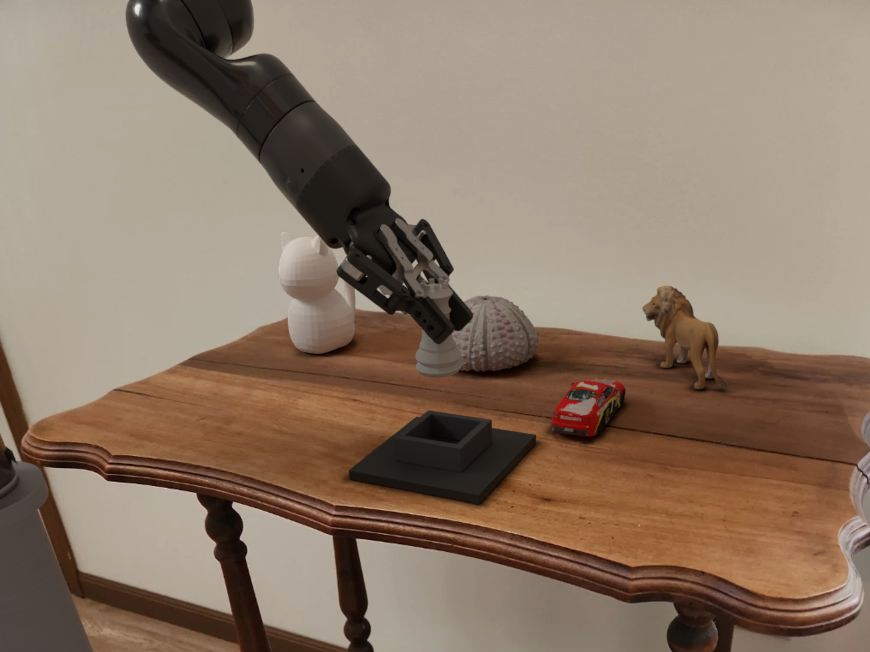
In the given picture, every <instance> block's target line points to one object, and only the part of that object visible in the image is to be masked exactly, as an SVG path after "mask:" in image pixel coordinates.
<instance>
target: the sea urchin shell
mask: <svg viewBox="0 0 870 652" xmlns="http://www.w3.org/2000/svg"><path fill="white" fill-rule="evenodd" d="M463 302H464V303H465V304H466V305H467V307H468V308H469V309H470V310H471V311H472V313H473V318H472V320H471V321H470V322H469V323H468V324H467V325H466V326H465V327H464V328H463V329H461V330H460V331H455V330H454V331H453V333H452V336H453V339H454V341H455V342H456V346H457V347H458V348H459V350H460V352H461V357H460V359H459V360H460V361H461V362H462V364H463V365H462V367H461V368H460V370H459V371H460V372H463V371H465V372H469V371H475V372H483V373H484V372H486V371H492V372H496V371H501V370H503V369H504V370H507V369H511V368H513V367H519V366H520V365H522V364H524V363H527V362H528V361H529V360H531V359H532V358H533V357H534V354H536V353H537V349H538V347H539V340H540V339H539V337H538V334H539V331H537V329H536V327H535V326H534V324H533V323H532V321H531V320H530V319H529V318H528V316H527V315H526V314H525V312H524V310H522V309H520V307H519V305H516V304H515V303H514V302H513V301H511V300H509V299H507V298H504V297H502V296H491V295H477V296H473V297H471V298H467V299H466V300H465V301H463Z"/></svg>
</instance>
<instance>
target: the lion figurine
mask: <svg viewBox="0 0 870 652" xmlns="http://www.w3.org/2000/svg"><path fill="white" fill-rule="evenodd" d="M641 309H642V311H643V313H644V315H645V319H646V321H647V322H651V321H653V323H654V327H655V328H657V329H658V330H659V332H660V333H659V334H660V336H661V338H662V339H664V351H665V360H663V361H661V362H660V368H662V369H668V368H672V367H673V366H674V365H673V364H674V347H675V345H676V344H678V345H679V346H680V352H679V355H678V357H677V358H676V363H678V364H686V363H687V362H688V354H690V360H691V364H692V367H693V368H694V371H695V373H696V375H697V379H698V380H697V381H696V382H695V383H694V384H693V389H695V390H702V389H703V390H704V388H705V387H706V379H710V380H712V379H714V381H715V383H716V384H717V386H718V387H719V388H722V389H727V388H728V383H726V382H725V381H724V380H723V379H722V378H721V377H720V376H719V375H718V373H717V369H716V368H717V367H716V356H717V351H718V348H719V343H720V340H719V339H720V338H719V333H718V330H717V328H716V326H715V324H714V323H712V322H709V321H703V320H701V319H699V318H697V317H696V316H695V314H694V309H693V306H692V303H691V302H690V300H689V299H687V297H686V295H684V294H683V293H682V292H681V291H680V290H678V289H677V288H676V287H675V288H674V287H673V286H672V285H662V286H659V287H657V288H656V294H655V295H654V296H653V297H651V299H650V301H649V302H647V303H646V304H645V305H643V306H642V308H641ZM704 351H705V352H706V357H707V361H708V367H707V371H705V367H704V366H703V355H704ZM689 352H690V353H689Z"/></svg>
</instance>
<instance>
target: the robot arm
mask: <svg viewBox="0 0 870 652" xmlns="http://www.w3.org/2000/svg"><path fill="white" fill-rule="evenodd" d="M125 25H126V30H127V33H128V36H129V39H130V42H131V44H132V46H133V48H134V50H135V51H136V53H137V55H138V56H139V58H140V59H141V60H142V61H143V63H144V64H145V66H146V67H148V69H149V70H150V71H151V72H152V73H153V74H154V75H155V76H156V77H158V79H160V80H161V81H162V82H163V83H165V84H166V85H168V86H169V87H170V88H171V89H172V90H174V91H176V92H177V93H178V94H180V95H182V96H183V97H184V98H186V99H188V100H189V101H191V102H192V103H194V104H195V105H196V106H198V107H200V108H201V109H202V110H204V111H205V112H207V113H208V115H210V116H211V117H213V118H214V119H216V120H217V121H219V122H220V123H221V124H223V125H224V126H225V127H227V128H228V129H229V130H230V131H231V132H232V133H233V134H234V135H235V137H236V138H237V139H238V140H239V141H240V142H241V144H243V146H244V147H245V148H246V149H247V151H248V152H249V153H250V154H251V155H252V156H253V158H254V159H255V160H256V161H257V162H258V163H259V165H260V166H261V167H262V168H263V169H264V170H265V172H266V173H267V175H268V176H269V178H270V179H271V181H272V182H273V184H274V185H275V187H276V188H277V189H278V190H279V192H280V193H281V194H282V195H283V197H285V199H286V200H287V201H288V202H289V203H290V205H292V206H293V209H295V210H296V211H297V213H298V214H299V215H300V216H301V217H302V218H303V219H304V221H305V222H306V223H307V224H308V225H309V226H310V228H311V229H312V230H313V231H314V232H315V233H316V234H317V235H319V237H320V238H321V239H322V240H323V241H324V242H325V244H326V245H327V246H328V247H329V248H330V249H331V250H333V249H334V250H338V249H343V251H344V253H345V255H346V256H345V257H344V258H343V260H342V262H341V263H340V264H339V265H338V269H337V270H336V272H337V274H338V276H339V279H341V280H342V279H343V280H344V281H345V282H347V283H348V284H349V285H351V286H352V287H353V288H354V289H355V291H357V292H358V293H360V294H361V295H363V296H364V297H365V298H367V299H368V300H369V301H370V302H372V303H373V304H375V305H376V306H377V307H378V308H380V309H381V310H382V311H384V312H385V313H386V314H388V315H391V316H393V315H395V314H396V312H401V313H402V314H403V315H406V316H409V315H410V317H411V318H412V319H413V320H414V321H415V322H416V324H417V325H418V326H419V327H420V328H421V330H422V331H423V330H424V331H425V333H426V334H427V335H428V336H429V337H430V338H431V339H432V340H433V341H434V342H435V343H436V344H441V343H443V342H444V341H445V340H446V339H447V338H448V337H449V336H450V335H451V334H452V333H453V331H454V330H455V331H460V330H461V329H463V328H464V327H465V326H466V325H467V324H468V323H469V322H470V321H471V320H472V318H473V313H472V311H471V310H470V309H469V308H468V307H467V305H466V304H465V303H464V302H465V301H463V299H462V298H461V297H460V296H459V295H458V293H457V292H456V291H455V290H454V289H453V288H452V286H451V285H450V284H449V283H450V282H451V281H450V280H451V279H450V275H451V274H452V273H453V272H454V271H455V270H454V269H455V268H454V265H453V263H451V261H450V258H449V257H448V255H447V253H446V251H445V249H444V248H443V246H442V244H441V243H440V240H439V238H438V237H437V234H436V233H435V231H434V229H433V228H432V225H431V224H430V223H429V221H428V220H426V219H424V218H421V219H420V220H419V221H418V222H416V223H417V224H410V223H408V221H407V220H406V219H405V218H404V217H403V216H402V215H400V214H399V213H398V212H396V211H395V210H394V209H393V208H392V207H391V206H390V197H391V194H392V187H391V184H390V183H389V181H388V180H387V179H386V178H385V176H384V175H383V174H382V173H381V172H380V171H379V170H378V168H377V167H376V166H375V164H374V163H373V162H372V161H371V160H370V159H369V158H368V157H367V155H366V154H365V153H364V152H363V150H362V149H361V148H360V147H359V146H358V145H357V143H356V142H355V141H354V140H353V139H352V137H351V136H350V135H349V134H348V133H347V131H346V130H345V129H344V128H343V126H341V124H339V122H338V121H337V120H336V119H335V118H334V117H333V116H331V115H330V114H329V113H328V112H327V111H326V110H325V109H324V108H323V107H322V106H321V105H320V104H319V103H318V102H317V101H316V100H315V98H314V97H313V96H312V95H311V93H310V92H309V91H308V90H307V88H305V86H304V85H303V84H302V83H301V82H300V81H299V79H298V78H297V77H296V75H294V73H293V72H292V71H291V70H290V69H289V67H287V65H286V64H285V63H284V62H283V61H282V60H281V59H280V58H279V57H277V56H276V55H274V54H271V53H265V52H263V53H262V52H261V53H256V54H252V55H247V56H244V57H240V58H235V59H233V58H231V59H230V58H229V57H231V56H232V55H234V54H236V53H237V52H238V51H240V50H241V49H242V48H244V47H245V46H246V45H247V44H248V43H249V42H250V41H251V39H252V37H253V34H254V31H255V13H254V6H253V2H252V0H128V2H127V3H126V8H125ZM435 261H436V262H435ZM415 262H416V263H417V264H416V265H415V266H413V264H414V263H415ZM422 273H423V275H424V277H425V278H424V277H423V276H422ZM432 278H434V284H439V283H438V279H439V278H441V279H444V280H448V285H449V288H450V289H451V290H452V292H453V294H452V295H451V297H450V299H449V301H448V305H449V307H450V309H451V311H450V313H449V318H450V320H449V319H448V318H447V317H446V316H445V315H444V313H443V312H442V311H441V310H440V309H439V308H438V306H437V305H436V304H435V303H434V302H433V301H432V299H431V298H430V297H429V296H426V297H425V298H423V297H424V296H425V292H424V290H423V289H422V287H421V286H420V283H421V281H423V280H426V282H427V285H428V284H429V279H432ZM378 289H379V290H378ZM12 461H14V462H15V463H16V464H17V462H16V461H17V460H16V457H15V454H14V451H13V450H12V449H11V448H9V447H8V446H6V444H5V441H4V438H3V436H2V433H0V498H2V497H4V496H6V495H7V494H9V493H10V492H11V491H13V490H14V489H15V488H16V486H17V485H18V483H19V476H18V473H17V471H16V469H15V468H14V466H13V464H12ZM17 465H18V464H17Z"/></svg>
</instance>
